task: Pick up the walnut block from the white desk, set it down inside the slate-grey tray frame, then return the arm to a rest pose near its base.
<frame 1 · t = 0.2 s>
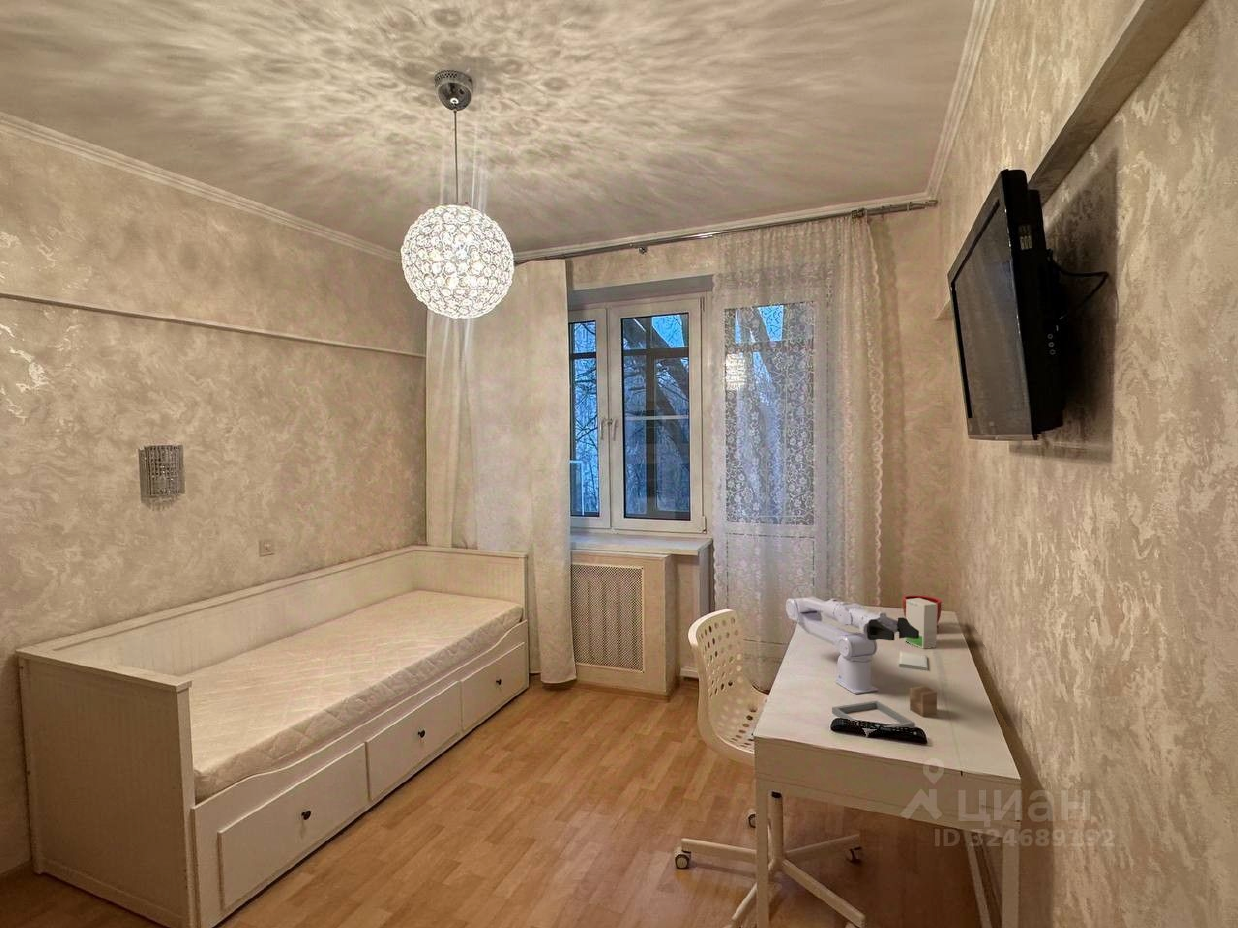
hand: (905, 635, 157), 21 cm above the table, tool horizontal, fingers open, 7 cm apart
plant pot: (922, 630, 229), on the table
tray frame: (872, 720, 155), on the table
skincare box: (921, 645, 212), on the table
hard drive: (912, 664, 195), on the table
walnut block: (923, 712, 159), on the table
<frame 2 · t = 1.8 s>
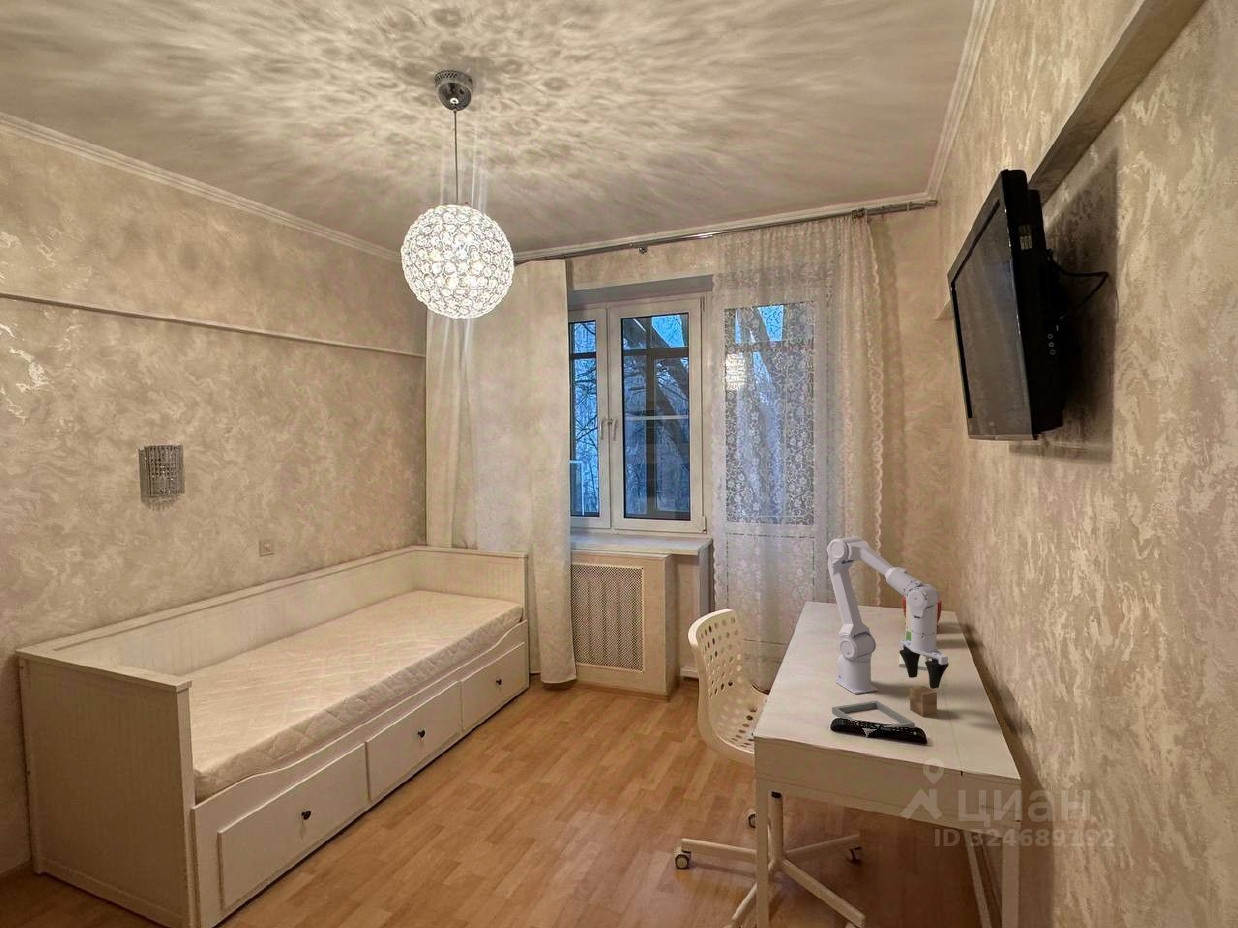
hand: (923, 682, 159), 8 cm above the table, tool pointing down, fingers open, 7 cm apart
nothing on the table moved.
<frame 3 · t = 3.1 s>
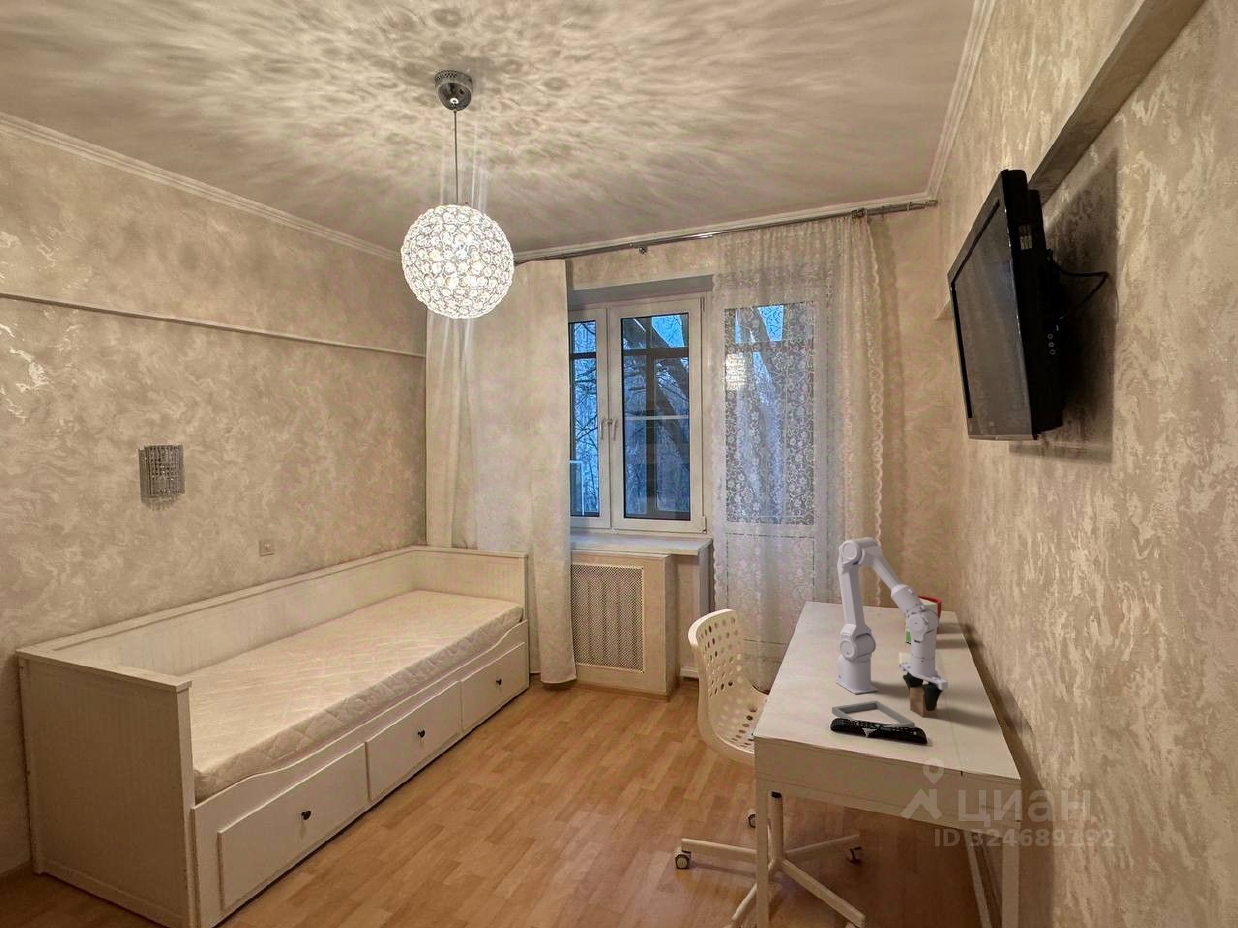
hand: (923, 706, 159), 2 cm above the table, tool pointing down, fingers closed on walnut block, 4 cm apart
walnut block: (923, 712, 159), on the table, touching gripper
everything else where it was.
when the fingers open (3 cm above the table, at t = 7.3 s): walnut block drops 1 cm, resting in tray frame.
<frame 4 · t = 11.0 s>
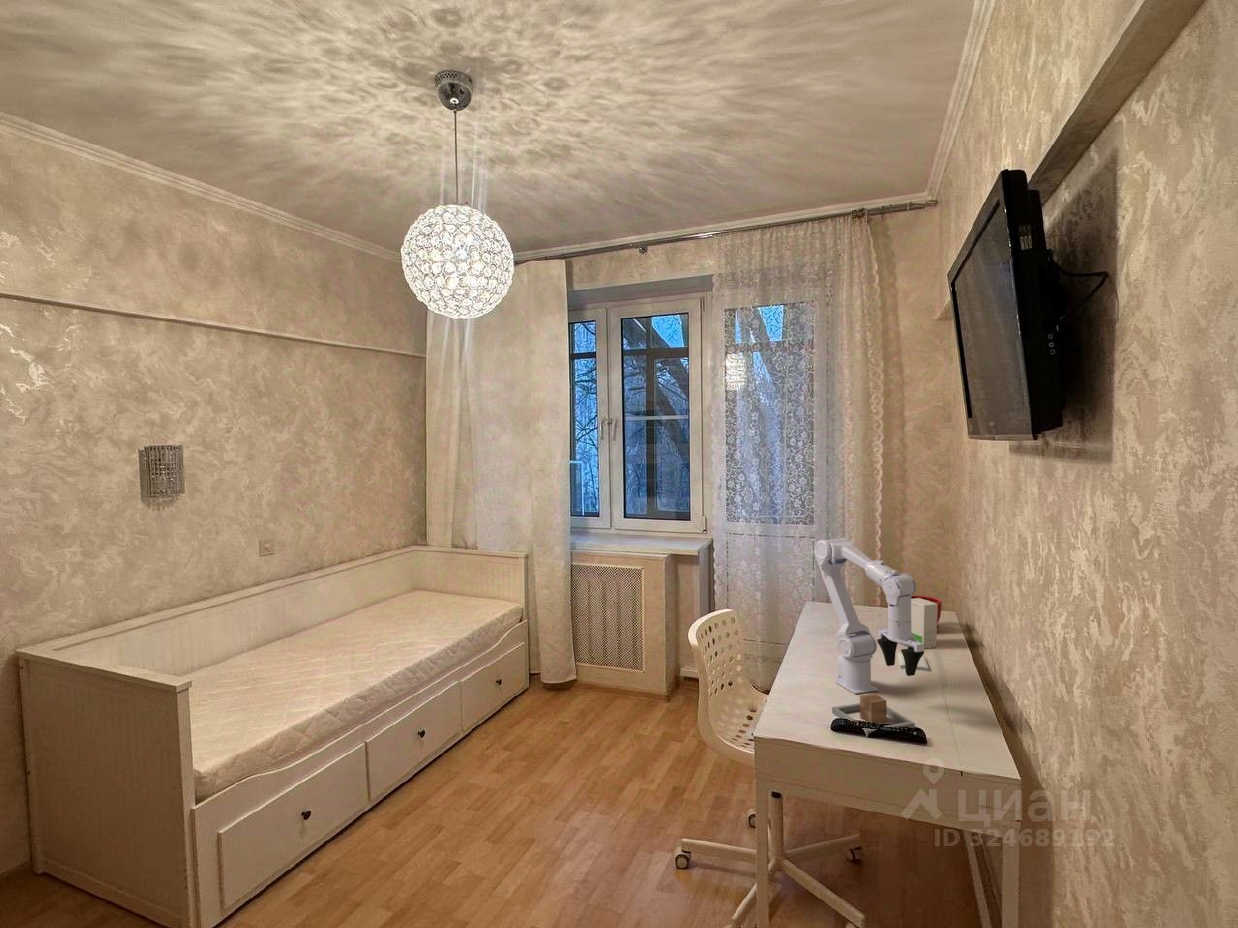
hand: (900, 670, 161), 10 cm above the table, tool pointing down, fingers open, 7 cm apart
walnut block: (873, 720, 155), resting in tray frame
everything else where it was.
at the end: walnut block inside the target area on the tray frame (0.4 cm from its centre), point 0.0 cm above the tray frame's base; walnut block tilted 0°; the gripper is holding nothing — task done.
